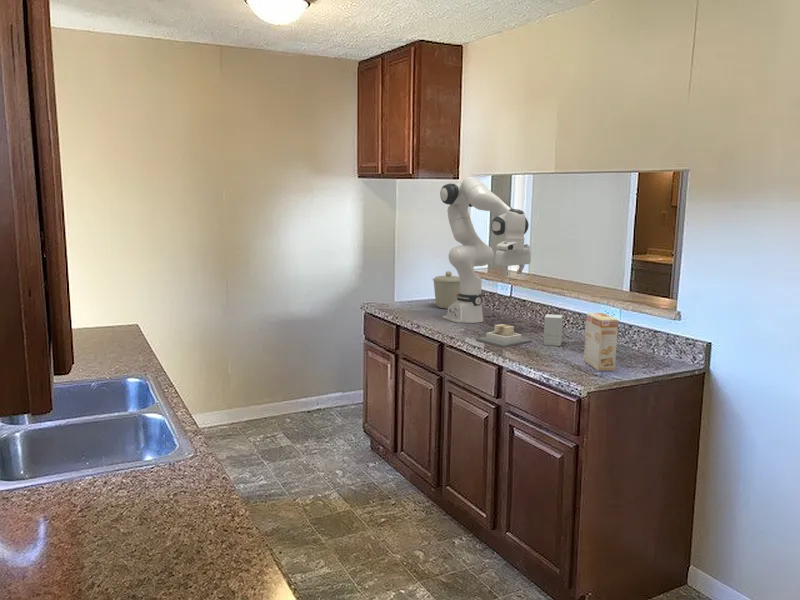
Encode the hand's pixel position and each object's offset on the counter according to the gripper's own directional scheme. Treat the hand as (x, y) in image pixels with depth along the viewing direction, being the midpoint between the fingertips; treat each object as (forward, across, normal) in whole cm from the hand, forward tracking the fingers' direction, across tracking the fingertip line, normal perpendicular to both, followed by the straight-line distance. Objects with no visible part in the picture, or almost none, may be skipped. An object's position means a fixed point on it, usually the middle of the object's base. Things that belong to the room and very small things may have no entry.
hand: (512, 274), depth 306 cm
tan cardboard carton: (+26, +14, +11) cm, 32 cm away
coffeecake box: (+26, +15, +62) cm, 68 cm away
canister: (+31, -23, -70) cm, 80 cm away
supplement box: (+27, 0, +26) cm, 38 cm away
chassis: (+28, +14, +11) cm, 33 cm away
